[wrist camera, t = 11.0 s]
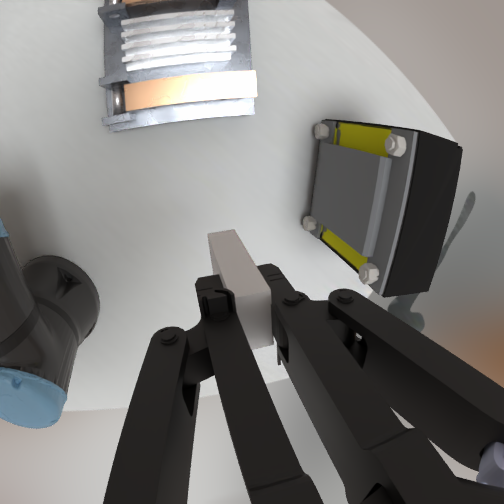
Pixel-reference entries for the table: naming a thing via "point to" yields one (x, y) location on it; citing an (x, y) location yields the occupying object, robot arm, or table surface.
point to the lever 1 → (139, 2)
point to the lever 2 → (190, 89)
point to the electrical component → (384, 201)
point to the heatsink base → (173, 54)
